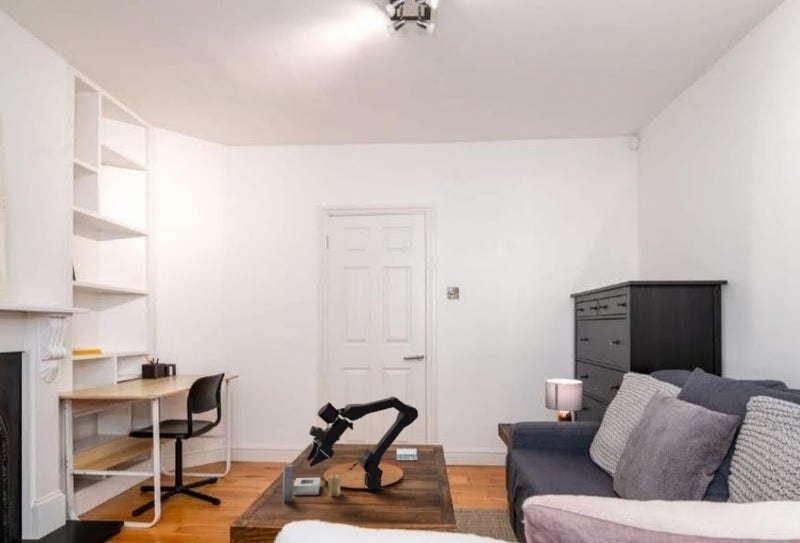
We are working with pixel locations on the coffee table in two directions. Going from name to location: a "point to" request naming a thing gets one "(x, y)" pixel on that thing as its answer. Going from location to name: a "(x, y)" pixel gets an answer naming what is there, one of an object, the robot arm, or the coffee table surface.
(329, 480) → the cross bit
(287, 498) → the square bit
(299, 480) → the bore block
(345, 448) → the coffee table surface
